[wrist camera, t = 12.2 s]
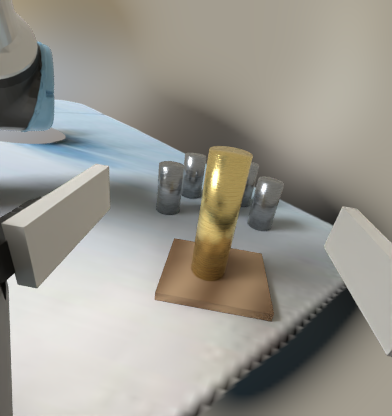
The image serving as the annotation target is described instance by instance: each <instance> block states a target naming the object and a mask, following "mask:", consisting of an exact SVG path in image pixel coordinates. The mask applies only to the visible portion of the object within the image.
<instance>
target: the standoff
mask: <svg viewBox="0 0 392 416" xmlns="http://www.w3.org/2000/svg"><path fill="white" fill-rule="evenodd" d="M252 157H253V155H252V154H251V153H249V152H247V151H244V150H241V149H238V148H233V147H225V146H214V147H211V148H210V149H209V155H208V161H207V168H206V174H205V181H204V187H203V193H202V200H201V206H200V212H199V219H198V225H197V232H196V238H195V244H194V251H193V257H192V264H191V270H192V272H193V274H194V275H195V276H196V277H198V278H200V279H202V280H205V281H217V280H219V279H221V278H222V277H223V276H224V273H225V269H226V265H227V261H228V257H229V253H230V248H231V244H232V240H233V236H234V232H235V228H236V223H237V219H238V215H239V211H240V207H241V203H242V199H243V194H244V190H245V186H246V182H247V178H248V174H249V169H250V165H251V161H252Z"/></svg>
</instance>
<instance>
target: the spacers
mask: <svg viewBox="0 0 392 416" xmlns="http://www.w3.org/2000/svg"><path fill="white" fill-rule="evenodd" d="M205 163H206V156H205V155H202V154H199V153H186V154H185V162H184V165H183V164H181V163H178V162H172V161H164V162H161V163H159V175H158V191H157V206H156V209H157V211H158V212H160V213H162V214H167V215H172V214H176V213H178V212H179V208H180V199H181V195H182V196H184V197H187V198H199V197H200V196H201V189H202V182H203V176H204V169H205ZM258 168H259V165H258V164H256V163H253V162H251V165H250V169H249V174H248V178H247V182H246V186H245V190H244V194H243V199H242V203H241V207H247V206H249V204H250V200H251V196H252V193H253V189H254V185H255V180H256V177H257V172H258ZM283 186H284V183H283V182H282V181H280V180H278V179H275V178H272V177H259V179H258V183H257V186H256V190H255V194H254V198H253V202H252V206H251V210H250V213H249V217H248V221H247V223H248V225H249V226H250V227H252V228H254V229H256V230H261V231H267V230H269V229H270V228H271V225H272V222H273V218H274V215H275V212H276V209H277V206H278V202H279V199H280V196H281V193H282V189H283Z"/></svg>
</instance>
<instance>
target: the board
mask: <svg viewBox="0 0 392 416" xmlns="http://www.w3.org/2000/svg"><path fill="white" fill-rule="evenodd" d="M194 244H195V242H192V241H186V240H181V239H175V238H174V241H173V243H172V246H171V249H170V252H169V255H168V258H167V261H166V263H165V266H164V269H163V272H162V275H161V278H160V280H159V283H158V286H157V289H156V292H155V300H160V301H165V302H170V303H176V304H181V305H186V306H192V307H197V308H203V309H208V310H213V311H219V312H224V313H229V314H235V315H240V316H245V317H251V318H256V319H262V320H267V321H272V319H273V316H274V311H273V306H272V302H271V297H270V292H269V287H268V282H267V277H266V272H265V267H264V263H263V258H262V254H261V253H255V252H249V251H244V250H238V249H232V248H230V253H229V257H228V261H227V265H226V269H225V273H224V276H223V277H222V278H221V279H219V280H217V281H205V280H202V279H200V278H198V277H196V276H195V275H194V274H193V272H192V270H191V264H192V257H193V251H194Z"/></svg>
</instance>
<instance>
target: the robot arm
mask: <svg viewBox="0 0 392 416" xmlns="http://www.w3.org/2000/svg"><path fill="white" fill-rule="evenodd" d="M53 120H54V71H53V58H52V52H51V49H50V48H49V47H48V46H47V45H44V44H42V43H41V42H37V41H36V38H35V35H34V33H33V31H32V29H31V28H30V26H29V25H28V23H26V22H25V20H24V19H23V18H22V17H20V15H18V14H17V13H16V12H15V11H14V7H13V3H12V0H0V130H8V131H21V132H27V131H44V130H47V129H49V128H50V127H51V126H52V124H53ZM109 210H110V183H109V166H105V165H99V164H95V165H93V166H92V167H90V168H89V169H87V170H85V171H84V172H82V173H81V174H79V175H77V176H76V177H74V178H73V179H71V180H69V181H68V182H66V183H65V184H63V185H62V186H60V187H58V188H57V189H55V190H54V191H52V192H50V193H49V194H47V195H46V196H44V197H39V198H36V199H33V200H29V201H27V202H26V203H24V204H22V205H21V206H19V208H16V209H14V210H12V212H9V213H7V214H6V215H4V216H2V217H1V218H0V416H13V410H12V380H11V350H10V320H9V290H8V284H7V279H8V278H9V277H11V276H12V275H13V274H14V273H15V276H16V280H17V284H18V285H22V286H28V287H33V288H38V287H39V286H40V285H41V284H42V282H43V281H44V280H45V279H46V278H47V277H48V276H49V275H50V274H51V273H52V272H53V271H54V269H55V268H56V267H57V266H58V265H59V264H60V263H61V262H62V261H63V260H64V259H65V257H66V256H67V255H68V254H69V253H70V252H71V251H72V250H73V249H74V248H75V247H76V245H77V244H78V243H79V242H80V241H81V240H82V239H83V238H84V237H85V236H86V235H87V233H88V232H89V231H90V230H91V229H92V228H93V227H94V226H95V225H96V224H97V223H98V222H99V220H100V219H101V218H102V217H103V216H104V215H105V214H106V213H107V212H108V211H109ZM324 248H325V250H326V252H327V254H328V255H329V257H330V259H331V260H332V262H333V264H334V266H335V267H336V269H337V271H338V272H339V274H340V276H341V278H342V279H343V281H344V283H345V285H346V286H347V288H348V290H349V291H350V293H351V295H352V296H353V298H354V300H355V302H356V303H357V305H358V307H359V308H360V310H361V312H362V314H363V316H364V317H365V319H366V321H367V322H368V324H369V326H370V328H371V329H372V331H373V333H374V334H375V336H376V338H377V340H378V341H379V343H380V345H381V346H382V348H383V350H384V352H385V353H386V355H387V356H391V357H392V243H391V242H390V241H389V240H388V239H387V238H386V237H385V236H384V235H383V234H382V233H381V232H380V231H379V230H378V229H376V227H375V226H374V225H373V224H372V223H371V222H370V221H369V220H368V219H367V218H365V217H364V215H363V214H361V213H360V212H359V211H358V210H357V209H355V208H349V207H342V209H341V211H340V213H339V215H338V217H337V220H336V222H335V224H334V226H333V228H332V230H331V232H330V234H329V237H328V239H327V241H326V243H325V245H324Z"/></svg>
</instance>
